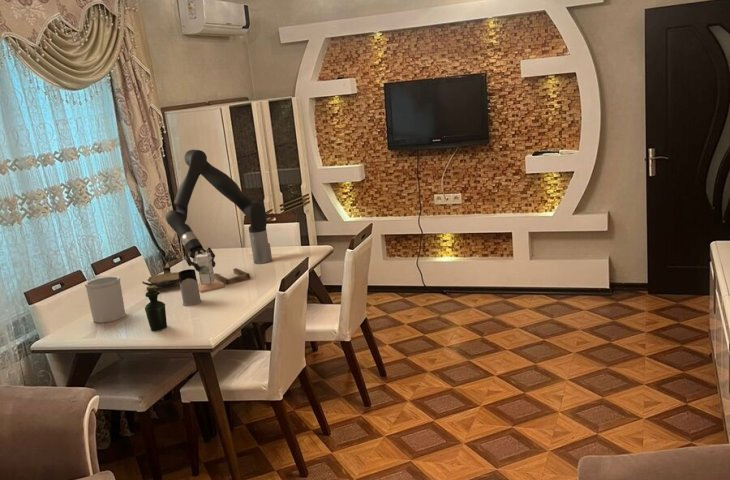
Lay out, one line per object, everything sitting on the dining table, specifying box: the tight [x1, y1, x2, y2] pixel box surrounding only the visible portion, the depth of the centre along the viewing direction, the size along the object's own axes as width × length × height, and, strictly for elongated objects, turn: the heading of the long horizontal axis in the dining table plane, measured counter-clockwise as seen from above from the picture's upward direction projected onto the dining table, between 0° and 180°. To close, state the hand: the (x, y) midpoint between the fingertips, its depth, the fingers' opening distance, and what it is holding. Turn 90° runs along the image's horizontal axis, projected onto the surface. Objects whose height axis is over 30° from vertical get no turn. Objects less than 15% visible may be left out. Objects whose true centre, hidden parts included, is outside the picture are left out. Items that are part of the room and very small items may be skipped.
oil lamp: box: [141, 262, 180, 289], centre depth 364 cm, size 22×30×8 cm
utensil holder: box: [84, 275, 126, 324], centre depth 318 cm, size 15×15×18 cm
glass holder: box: [178, 268, 203, 307], centre depth 328 cm, size 9×14×15 cm, turn 15°
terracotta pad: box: [198, 280, 226, 294], centre depth 350 cm, size 12×12×1 cm
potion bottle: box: [144, 285, 168, 332], centre depth 294 cm, size 8×8×18 cm
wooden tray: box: [214, 268, 251, 286], centre depth 361 cm, size 13×18×2 cm
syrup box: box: [196, 252, 215, 285], centre depth 348 cm, size 6×6×14 cm
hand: (206, 268), depth 347 cm, fingers closed on syrup box, 8 cm apart
